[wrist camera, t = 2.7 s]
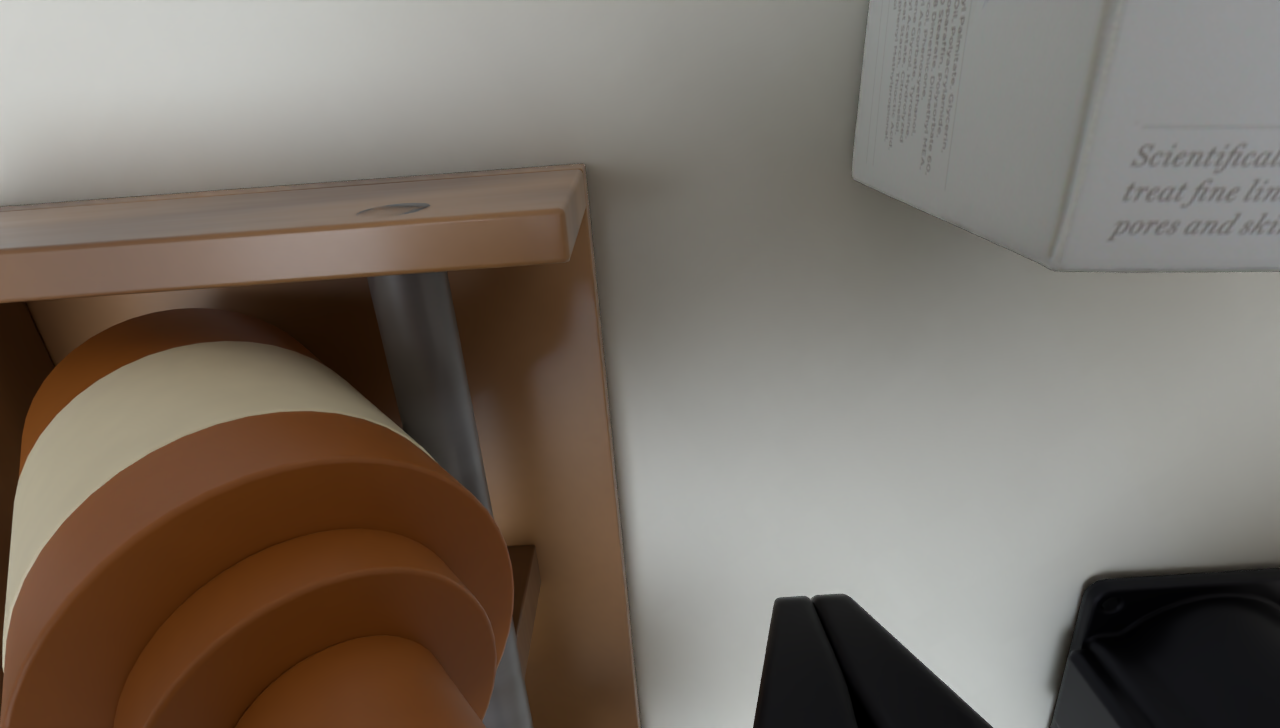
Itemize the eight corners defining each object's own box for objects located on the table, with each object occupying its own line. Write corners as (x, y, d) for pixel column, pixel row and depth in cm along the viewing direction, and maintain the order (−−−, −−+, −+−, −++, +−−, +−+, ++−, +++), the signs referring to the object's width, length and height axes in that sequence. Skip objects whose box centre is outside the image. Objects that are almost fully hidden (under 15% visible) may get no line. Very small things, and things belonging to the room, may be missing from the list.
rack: (585, 163, 14) (560, 216, 9) (646, 780, 21) (651, 994, 16) (-18, 207, 14) (-369, 284, 9) (253, 803, 22) (141, 1022, 17)
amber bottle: (611, 256, 14) (576, 898, 3) (630, 475, 16) (650, 1333, 5) (103, 293, 14) (-1750, 1062, 3) (187, 507, 16) (-744, 1429, 5)
